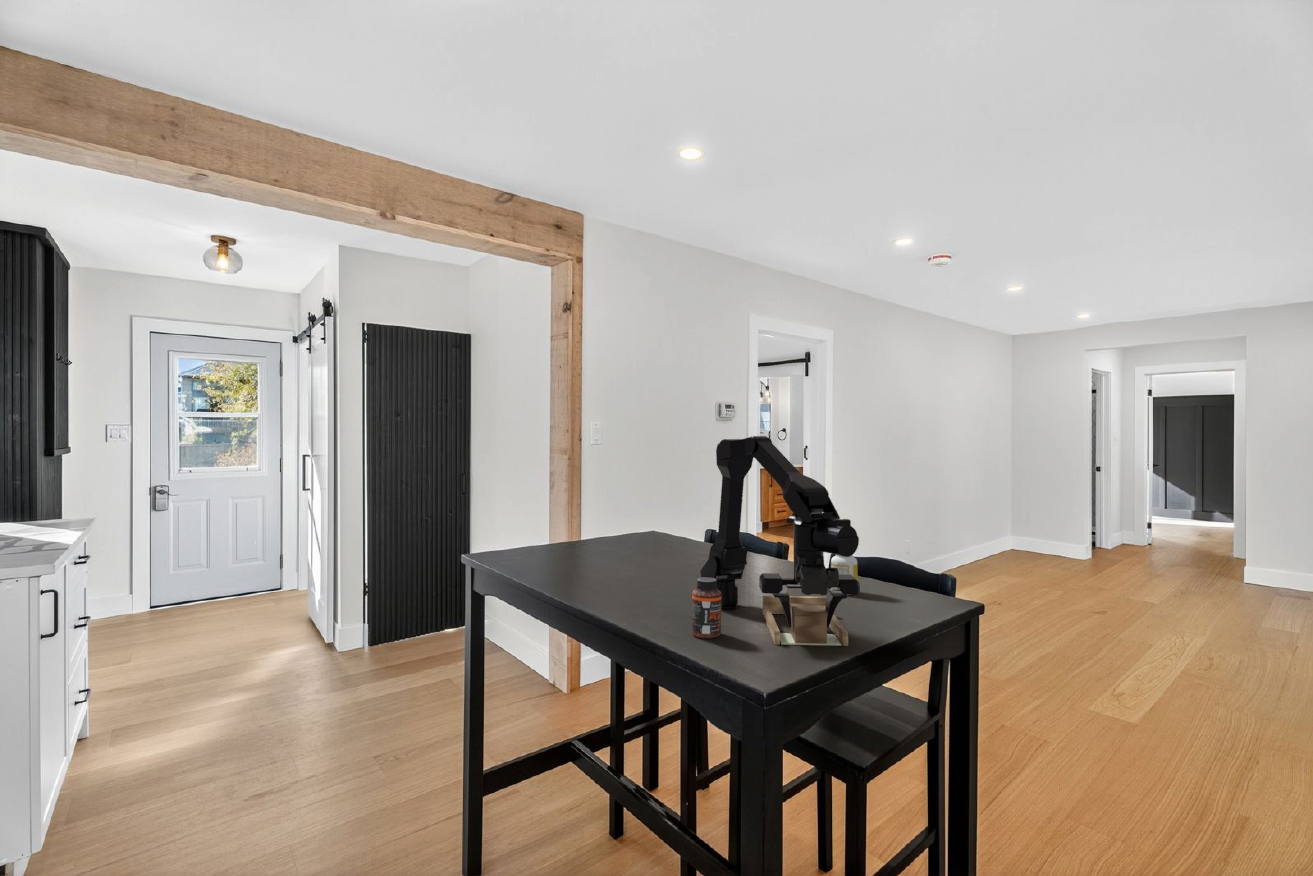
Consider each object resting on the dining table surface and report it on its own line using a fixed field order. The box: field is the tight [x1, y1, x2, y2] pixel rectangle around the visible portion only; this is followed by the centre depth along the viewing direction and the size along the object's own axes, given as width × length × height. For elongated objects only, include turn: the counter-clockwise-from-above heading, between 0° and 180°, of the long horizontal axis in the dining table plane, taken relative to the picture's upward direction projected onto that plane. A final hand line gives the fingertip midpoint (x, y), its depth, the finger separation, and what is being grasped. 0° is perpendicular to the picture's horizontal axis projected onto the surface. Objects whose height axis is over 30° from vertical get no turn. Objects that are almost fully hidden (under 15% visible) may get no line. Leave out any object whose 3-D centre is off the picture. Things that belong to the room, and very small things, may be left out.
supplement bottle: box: [691, 577, 722, 640], centre depth 125 cm, size 6×6×11 cm
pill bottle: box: [830, 554, 859, 582], centre depth 159 cm, size 6×6×12 cm
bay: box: [762, 595, 849, 647], centre depth 130 cm, size 14×21×4 cm, turn 176°
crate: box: [790, 604, 828, 644], centre depth 122 cm, size 6×6×6 cm
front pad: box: [780, 632, 842, 647], centre depth 122 cm, size 11×6×1 cm, turn 86°
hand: (808, 627), depth 122 cm, fingers open, 7 cm apart
